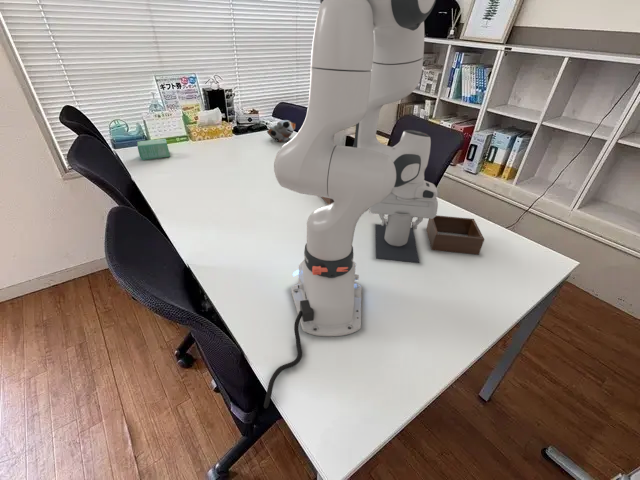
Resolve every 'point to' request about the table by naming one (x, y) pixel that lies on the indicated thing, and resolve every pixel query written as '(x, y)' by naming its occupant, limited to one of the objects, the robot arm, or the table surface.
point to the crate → (454, 242)
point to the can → (398, 229)
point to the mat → (395, 247)
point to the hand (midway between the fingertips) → (398, 226)
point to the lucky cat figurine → (282, 130)
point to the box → (153, 149)
